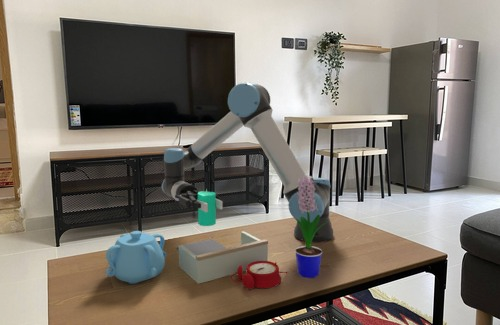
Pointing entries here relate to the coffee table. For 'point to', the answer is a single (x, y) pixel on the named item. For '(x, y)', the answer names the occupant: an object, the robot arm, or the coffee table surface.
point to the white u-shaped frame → (223, 259)
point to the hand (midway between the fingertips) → (214, 206)
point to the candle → (209, 216)
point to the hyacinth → (308, 231)
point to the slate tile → (203, 247)
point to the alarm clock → (259, 275)
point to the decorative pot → (136, 257)
